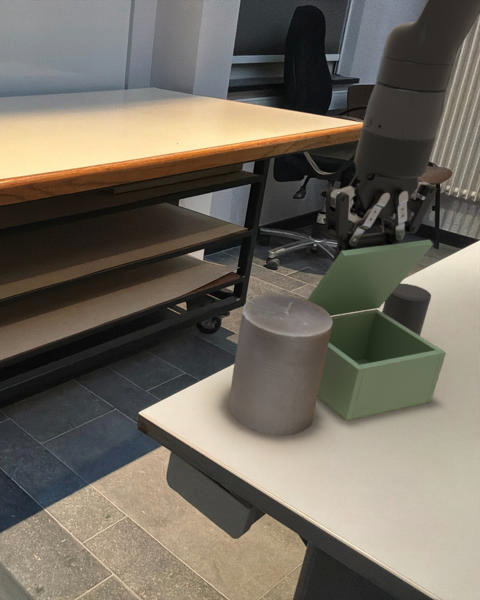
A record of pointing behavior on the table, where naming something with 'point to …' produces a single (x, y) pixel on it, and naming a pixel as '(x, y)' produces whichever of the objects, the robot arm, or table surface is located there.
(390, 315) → the dark grey cylinder
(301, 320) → the pillar candle
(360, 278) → the lid
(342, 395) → the bread box
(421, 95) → the robot arm
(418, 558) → the table surface
